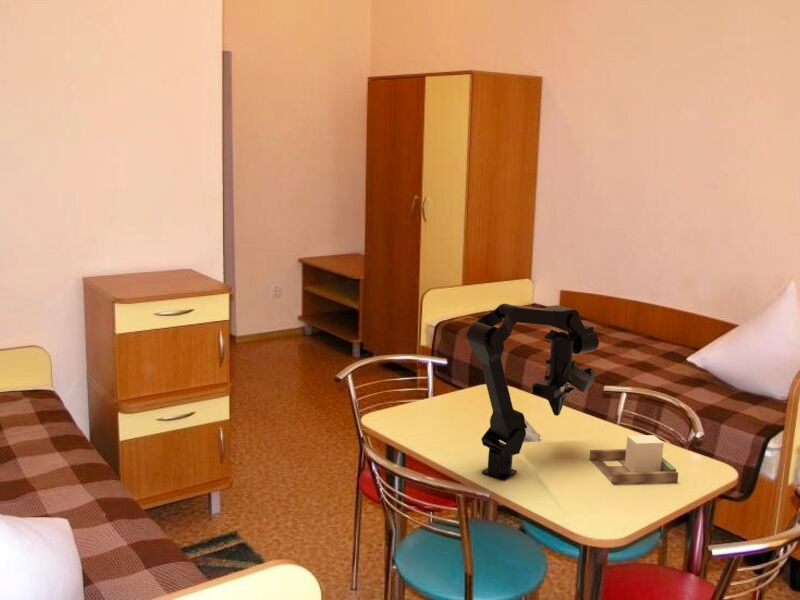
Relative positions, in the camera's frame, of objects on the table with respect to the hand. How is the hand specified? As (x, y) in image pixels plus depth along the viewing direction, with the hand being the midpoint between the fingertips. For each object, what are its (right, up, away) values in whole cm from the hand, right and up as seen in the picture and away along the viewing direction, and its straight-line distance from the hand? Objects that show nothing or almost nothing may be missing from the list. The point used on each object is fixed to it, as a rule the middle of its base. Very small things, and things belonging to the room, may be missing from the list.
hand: (556, 415), depth 199 cm
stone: (-5, -9, +17) cm, 20 cm away
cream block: (+20, -13, -6) cm, 24 cm away
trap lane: (+17, -14, -6) cm, 23 cm away
